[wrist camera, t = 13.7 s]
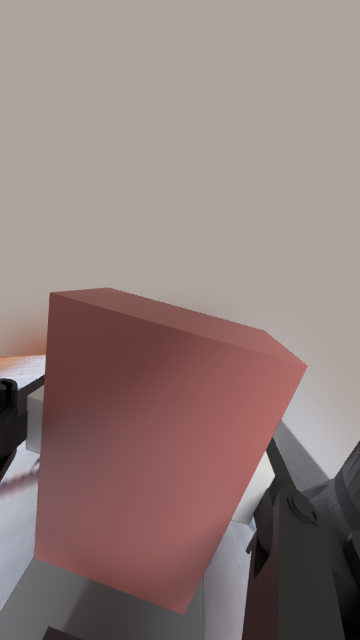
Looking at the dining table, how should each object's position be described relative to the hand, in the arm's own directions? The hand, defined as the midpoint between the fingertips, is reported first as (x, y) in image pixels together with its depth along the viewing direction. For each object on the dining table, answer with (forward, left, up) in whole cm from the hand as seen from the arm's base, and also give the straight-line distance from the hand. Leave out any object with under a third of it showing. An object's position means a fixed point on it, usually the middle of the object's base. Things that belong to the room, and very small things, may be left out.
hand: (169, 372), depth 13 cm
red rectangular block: (0, +5, -8) cm, 10 cm away
